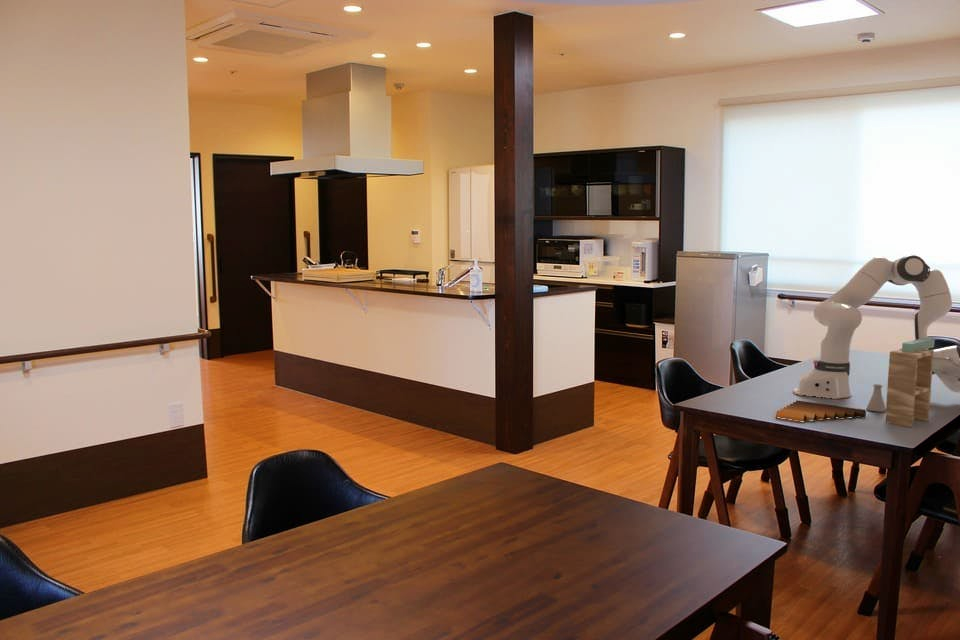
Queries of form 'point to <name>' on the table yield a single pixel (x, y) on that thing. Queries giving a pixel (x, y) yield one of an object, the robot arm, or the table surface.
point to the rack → (909, 386)
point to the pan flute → (817, 411)
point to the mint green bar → (918, 345)
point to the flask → (876, 400)
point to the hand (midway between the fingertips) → (937, 356)
